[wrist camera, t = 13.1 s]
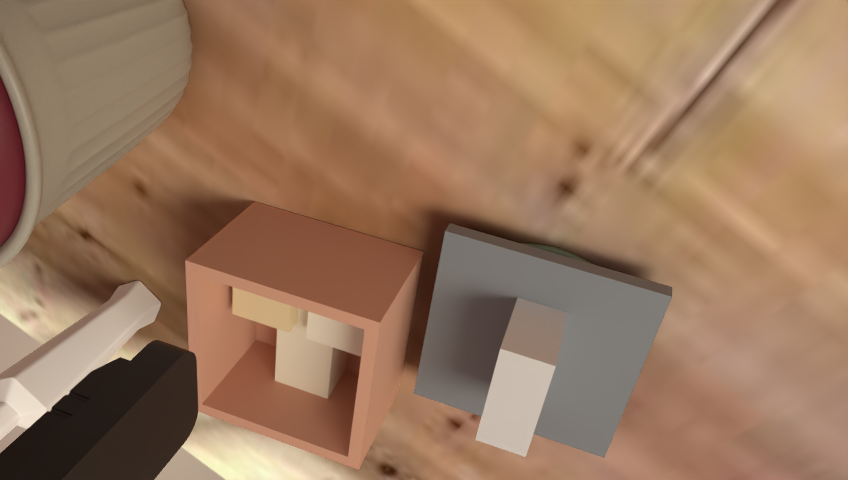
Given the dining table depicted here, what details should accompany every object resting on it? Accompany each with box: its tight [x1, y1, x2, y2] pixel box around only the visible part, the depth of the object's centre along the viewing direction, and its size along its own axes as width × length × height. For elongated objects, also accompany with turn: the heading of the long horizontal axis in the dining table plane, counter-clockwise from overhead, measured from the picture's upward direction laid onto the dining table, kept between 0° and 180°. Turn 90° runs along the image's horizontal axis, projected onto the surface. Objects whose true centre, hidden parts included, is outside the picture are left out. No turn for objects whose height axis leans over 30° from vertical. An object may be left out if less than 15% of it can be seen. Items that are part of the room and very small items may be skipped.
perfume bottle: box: [0, 281, 161, 440], centre depth 48 cm, size 5×4×15 cm
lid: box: [414, 223, 672, 457], centre depth 41 cm, size 13×13×7 cm
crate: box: [185, 202, 424, 470], centre depth 45 cm, size 12×13×8 cm
